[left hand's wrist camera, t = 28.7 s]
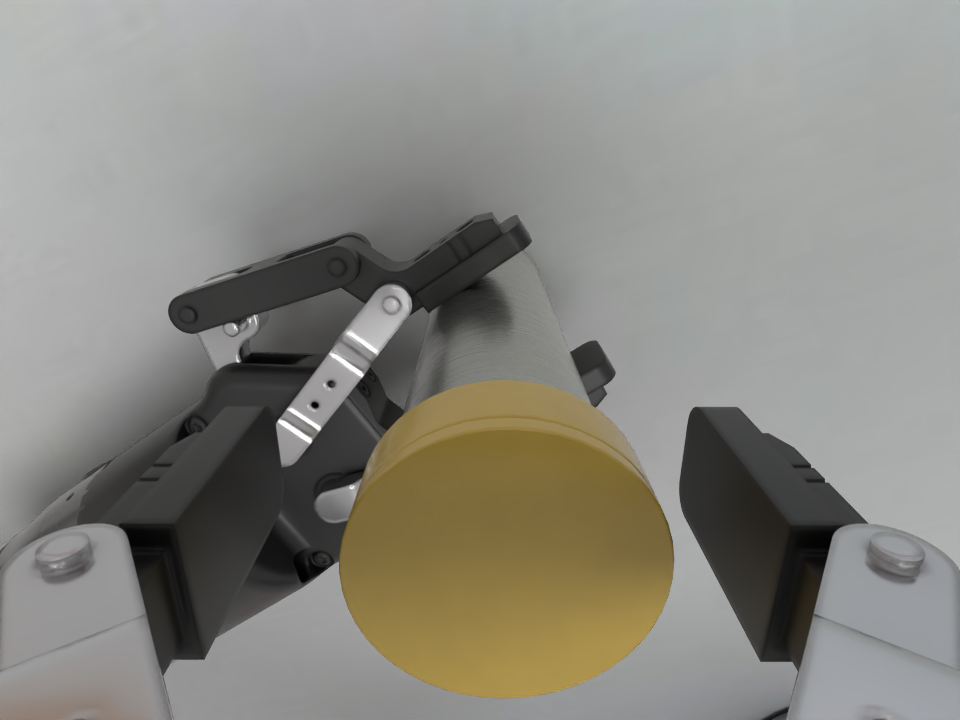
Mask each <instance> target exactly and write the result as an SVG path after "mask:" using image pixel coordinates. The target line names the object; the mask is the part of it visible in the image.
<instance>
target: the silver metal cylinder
mask: <svg viewBox="0 0 960 720" xmlns="http://www.w3.org/2000/svg"><path fill="white" fill-rule="evenodd" d="M494 380H515V381H528V382H533V383H538V384H543V385H548V386H551V387H554V388H557V389H560V390H563V391H566V392H568V393H570V394H572V395H574V396H576V397H578V398H580V399H582V400H584V401H586V402H587V403H589V404H590V405H591V403H590V400H589V398H588V395H587V393H586V390H585V388H584V385H583V383H582V380H581V378H580V375H579V373H578V370H577V368H576V365H575V363H574V360H573V358H572V355H571V353H570V350H569V348H568V345H567V343H566V340H565V338H564V335H563V333H562V330H561V328H560V325H559V323H558V320H557V318H556V315H555V313H554V310H553V308H552V305H551V303H550V300H549V298H548V295H547V293H546V290H545V288H544V285H543V283H542V280H541V278H540V275H539V273H538V271H537V268H536V266H535V264H534V263H533V261H532V260H531V259H530V257H529V256H528V255H527V254H526V253H525V252H524V251H523V250H522V251H521V252H519V253H518V254H517V255H515V256H513V257H512V258H510V259H509V260H507V261H506V262H504V263H503V264H501V265H500V266H498V267H497V268H495V269H494V270H492V271H491V272H489V273H488V274H486V275H485V276H483V277H482V278H480V279H479V280H477V281H476V282H474V283H473V284H471V285H470V286H468V287H467V288H465V289H464V290H462V291H461V292H459V293H457V294H456V295H454V296H452V297H451V298H450V299H448V300H447V301H446V302H444V303H443V304H441V305H440V306H438V307H437V308H435V309H434V310H432V311H431V313H430V317H429V321H428V324H427V328H426V332H425V336H424V339H423V343H422V347H421V350H420V354H419V358H418V361H417V365H416V369H415V372H414V376H413V380H412V383H411V387H410V391H409V395H408V398H407V402H406V406H405V409H404V413H403V415H404V414H406V413H407V412H408V411H409V410H411V409H412V408H413V407H415V406H417V405H418V404H420V403H422V402H423V401H425V400H427V399H428V398H430V397H432V396H435V395H437V394H439V393H442V392H444V391H446V390H449V389H452V388H456V387H459V386H462V385H466V384H471V383H477V382H483V381H494Z"/></svg>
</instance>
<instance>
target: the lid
mask: <svg viewBox="0 0 960 720" xmlns="http://www.w3.org/2000/svg"><path fill="white" fill-rule="evenodd" d="M673 569H674V551H673V541H672V537H671V533H670V529H669V525H668V522H667V520H666V518H665V515H664V513H663V511H662V508H661V506H660V504H659V502H658V500H657V498H656V496H655V494H654V491H653V489H652V487H651V485H650V483H649V481H648V479H647V477H646V475H645V473H644V470H643V468H642V466H641V464H640V462H639V460H638V458H637V456H636V454H635V452H634V450H633V448H632V447H631V445H630V443H629V442H628V440H627V439H626V437H625V436H624V434H623V433H622V432H621V431H620V430H619V429H618V427H617V426H616V425H615V424H614V423H613V422H612V421H611V420H610V419H609V418H607V417H606V416H605V415H604V414H603V413H602V412H601V411H599V410H598V409H596V408H595V407H593V406H592V405H590V404H589V403H587V402H586V401H584V400H582V399H580V398H578V397H576V396H574V395H572V394H570V393H568V392H566V391H563V390H560V389H557V388H554V387H551V386H548V385H543V384H538V383H533V382H528V381H515V380H494V381H483V382H477V383H471V384H466V385H462V386H459V387H456V388H452V389H449V390H446V391H444V392H442V393H439V394H437V395H435V396H432V397H430V398H428V399H427V400H425V401H423V402H422V403H420V404H418V405H417V406H415V407H413V408H412V409H411V410H409V411H408V412H407V413H406V414H404V415H403V416H402V417H401V418H399V419H398V420H397V421H396V422H395V423H394V424H393V425H392V426H391V427H390V428H389V430H388V431H387V432H386V433H385V434H384V435H383V437H382V438H381V440H380V441H379V442H378V444H377V445H376V447H375V449H374V450H373V452H372V454H371V456H370V458H369V460H368V462H367V465H366V468H365V471H364V474H363V477H362V480H361V483H360V486H359V489H358V492H357V495H356V498H355V501H354V504H353V507H352V509H351V512H350V515H349V518H348V521H347V524H346V527H345V530H344V533H343V536H342V542H341V548H340V554H339V574H340V580H341V586H342V591H343V594H344V597H345V600H346V603H347V606H348V609H349V611H350V613H351V615H352V617H353V619H354V621H355V623H356V625H357V626H358V627H359V629H360V630H361V632H362V633H363V634H364V636H365V637H366V639H367V640H368V641H369V642H370V643H371V644H372V645H373V646H374V647H375V648H376V649H377V651H378V652H379V653H381V654H382V655H383V656H384V657H385V658H387V659H388V660H389V661H390V662H391V663H393V664H394V665H396V666H397V667H399V668H400V669H402V670H403V671H405V672H406V673H408V674H410V675H412V676H414V677H416V678H418V679H420V680H422V681H424V682H426V683H428V684H431V685H434V686H436V687H439V688H442V689H445V690H448V691H452V692H456V693H460V694H465V695H471V696H477V697H486V698H523V697H531V696H538V695H544V694H548V693H552V692H557V691H561V690H564V689H567V688H570V687H573V686H575V685H578V684H581V683H583V682H585V681H587V680H589V679H592V678H594V677H596V676H598V675H599V674H601V673H603V672H604V671H606V670H608V669H609V668H611V667H613V666H614V665H615V664H617V663H618V662H619V661H621V660H622V659H623V658H625V657H626V656H627V655H628V654H629V653H630V652H631V651H632V650H633V649H635V648H636V647H637V646H638V645H639V644H640V643H641V642H642V640H643V639H644V638H645V637H646V635H647V634H648V633H649V632H650V630H651V629H652V628H653V626H654V624H655V623H656V621H657V619H658V618H659V616H660V614H661V613H662V610H663V608H664V605H665V603H666V600H667V598H668V595H669V591H670V587H671V583H672V579H673Z"/></svg>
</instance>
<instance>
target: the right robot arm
mask: <svg viewBox="0 0 960 720" xmlns="http://www.w3.org/2000/svg"><path fill="white" fill-rule="evenodd" d="M531 242H532V240H531V238H530V235H529V233H528V232H527V230H526V229H525V227H524V226H523V224H522V222H521V221H520V219H519V218H518V216H517V215H515V216H512V217H510V218H509V219H507V220H505V221H504V222H502V223H501V224H499V223H498V221H497V220H496V218H495V217H494V215H493V214H492V212H491V213H487V214H482V215H478V216H474V217H473V218H471V219H470V220H468V221H467V222H466V223H464V224H463V225H461V226H460V227H459V228H457V229H455V230H454V231H453V232H451V233H450V234H449V235H447V236H445V237H444V238H442V239H441V240H440V241H438V242H437V243H435V244H434V245H432V246H431V247H429V248H428V249H427V250H425V251H424V252H422V253H421V254H419V255H418V256H416V257H415V258H413V259H412V260H409V261H406V262H396V261H392V260H390V259H388V258H386V257H385V256H383V255H382V254H380V253H379V252H377V251H376V250H374V249H373V248H372V247H371V245H370V243H369V241H368V240H367V239H366V238H365V237H364V236H363V235H361V234H358V233H347V234H344V235H340V236H337V237H334V238H331V239H328V240H325V241H322V242H319V243H316V244H313V245H310V246H307V247H304V248H301V249H297V250H294V251H291V252H288V253H285V254H282V255H279V256H276V257H273V258H270V259H267V260H264V261H261V262H258V263H254V264H251V265H248V266H245V267H242V268H239V269H236V270H233V271H230V272H227V273H224V274H221V275H218V276H215V277H212V278H210V279H208V280H206V281H204V282H203V283H201V284H199V285H197V286H195V287H193V288H191V289H190V290H188V291H186V292H185V293H183V294H181V295H179V296H177V297H176V298H174V299H173V300H172V301H171V303H170V305H169V309H168V313H169V317H170V320H171V322H172V323H173V324H174V326H175V327H176V328H178V329H179V330H181V331H183V332H185V333H190V334H195V333H197V335H198V337H199V339H200V341H201V343H202V345H203V347H204V349H205V351H206V353H207V355H208V357H209V359H210V361H211V363H212V365H213V367H214V369H215V370H216V372H215V373H214V374H213V375H212V377H211V378H210V380H209V382H208V384H207V387H206V390H205V392H204V394H203V396H202V398H201V399H199V400H198V401H197V402H195V403H194V404H192V405H191V406H189V407H188V408H186V409H185V410H184V411H182V412H181V413H179V414H178V415H176V416H175V417H173V418H172V419H171V420H169V421H168V422H166V423H165V424H163V425H162V426H160V427H159V428H158V429H156V430H155V431H153V432H152V433H150V434H149V435H148V436H146V437H145V438H143V439H142V440H140V441H139V442H137V443H136V444H135V445H133V446H132V447H130V448H129V449H127V450H126V451H124V452H123V453H122V454H120V455H119V456H117V457H116V458H114V459H113V460H111V461H109V462H106V463H104V464H102V465H100V466H98V467H97V468H95V469H93V470H92V471H90V472H89V473H87V474H86V475H85V476H84V478H83V479H82V480H81V482H80V483H78V484H77V485H76V486H74V487H73V488H71V489H70V490H68V491H67V492H66V493H64V494H63V495H61V496H60V497H59V498H57V499H56V500H55V501H54V502H52V503H51V504H50V505H49V506H48V507H47V508H46V509H45V510H44V511H42V512H41V513H40V514H39V515H38V516H37V517H36V518H35V519H34V520H33V521H32V522H31V523H30V524H29V525H28V526H27V527H26V528H25V529H24V530H22V531H21V532H20V533H19V534H17V535H15V536H14V537H12V538H11V539H10V540H8V541H7V542H5V543H4V544H2V545H1V546H0V570H1V569H2V567H3V565H4V564H5V563H6V562H7V561H8V560H9V559H10V558H11V557H12V556H13V555H14V554H15V553H17V552H18V551H19V550H21V549H22V548H23V547H25V546H27V545H28V544H30V543H32V542H34V541H35V540H37V539H39V538H41V537H44V536H46V535H48V534H51V533H53V532H56V531H59V530H62V529H66V528H69V527H73V526H79V525H84V524H95V523H96V522H97V521H98V520H99V519H100V518H101V517H102V516H103V515H104V514H105V513H106V512H107V511H108V510H109V509H110V508H111V507H112V506H113V505H114V504H115V503H116V502H117V501H118V500H119V499H120V498H121V497H122V496H123V494H124V493H125V492H126V491H127V490H128V489H129V488H130V487H131V486H132V485H133V484H134V483H135V482H136V481H140V477H141V476H142V475H143V474H144V473H145V472H146V471H147V470H148V469H149V468H150V467H153V464H154V463H155V461H156V460H157V459H158V458H159V457H160V456H161V455H162V454H163V453H164V452H165V451H166V450H167V449H168V448H169V447H170V446H172V445H174V444H176V443H177V442H179V441H181V440H183V439H185V438H186V437H188V436H190V435H192V434H193V433H195V432H202V431H203V430H204V429H205V428H206V427H207V426H208V425H209V424H210V423H211V422H212V420H213V419H214V418H215V417H216V416H217V415H218V414H219V413H220V412H221V411H222V410H223V409H224V408H225V407H227V406H269V407H270V408H271V409H272V411H273V413H274V417H275V422H276V429H277V436H278V444H279V451H280V458H281V466H282V473H283V481H284V495H283V503H282V507H281V511H280V514H279V516H278V518H277V520H276V522H275V524H274V526H273V528H272V530H271V532H270V533H269V535H268V537H267V539H266V541H265V543H264V545H263V547H262V549H261V551H260V553H259V555H258V557H257V559H256V560H255V562H254V564H253V566H252V568H251V570H250V572H249V574H248V576H247V578H246V580H245V582H244V584H243V586H242V588H241V589H240V591H239V593H238V595H237V597H236V599H235V601H234V603H233V605H232V607H231V609H230V611H229V613H228V615H227V617H226V618H225V620H224V622H223V624H222V626H221V628H220V630H219V632H218V634H217V636H216V637H218V636H220V635H221V634H223V633H225V632H227V631H228V630H230V629H232V628H234V627H235V626H237V625H239V624H240V623H242V622H244V621H246V620H247V619H249V618H251V617H253V616H254V615H256V614H258V613H259V612H261V611H263V610H265V609H266V608H268V607H270V606H271V605H273V604H275V603H277V602H278V601H280V600H282V599H283V598H285V597H287V596H289V595H290V594H292V593H294V592H296V591H297V590H299V589H301V588H302V587H304V586H305V585H307V584H308V583H310V582H311V581H313V580H314V579H315V578H316V577H318V576H319V575H320V574H321V573H323V572H324V571H325V570H326V569H328V568H329V567H330V566H332V565H333V564H335V563H337V562H339V554H340V548H341V542H342V536H343V533H344V530H345V527H346V524H347V521H348V518H349V515H350V512H351V509H352V507H353V504H354V501H355V498H356V495H357V492H358V489H359V486H360V483H361V480H362V477H363V474H364V471H365V468H366V465H367V462H368V460H369V458H370V456H371V454H372V452H373V450H374V449H375V447H376V445H377V444H378V442H379V441H380V440H381V438H382V437H383V435H384V434H385V433H386V432H387V431H388V430H389V428H390V427H391V426H392V425H393V424H394V423H395V422H396V421H397V420H398V419H399V418H401V417H402V416H403V413H404V410H403V409H401V408H400V407H399V406H397V405H396V404H395V403H393V402H392V401H391V400H389V399H388V398H387V396H386V394H385V392H384V389H383V387H382V385H381V383H380V380H379V378H378V377H377V375H376V374H375V373H374V372H373V370H372V369H371V368H370V366H371V364H372V363H373V361H374V360H375V358H376V357H377V356H378V354H379V353H380V352H381V350H382V349H383V348H384V347H385V345H386V344H387V343H388V342H389V340H390V339H391V338H392V337H393V335H394V334H395V333H396V332H397V330H398V329H399V328H400V326H401V325H402V324H403V323H404V321H405V320H406V319H407V318H408V316H410V315H411V314H413V313H414V312H416V311H417V310H419V309H420V308H422V307H424V308H425V309H426V311H427V312H428V313H429V312H431V311H432V310H434V309H435V308H437V307H438V306H440V305H441V304H443V303H444V302H446V301H447V300H448V299H450V298H451V297H452V296H454V295H456V294H457V293H459V292H461V291H462V290H464V289H465V288H467V287H468V286H470V285H471V284H473V283H474V282H476V281H477V280H479V279H480V278H482V277H483V276H485V275H486V274H488V273H489V272H491V271H492V270H494V269H495V268H497V267H498V266H500V265H501V264H503V263H504V262H506V261H507V260H509V259H510V258H512V257H513V256H515V255H517V254H518V253H519V252H521V251H522V250H524V249H525V248H526V247H527V246H528V245H529V244H530V243H531ZM339 288H342V289H344V290H345V291H347V292H348V293H350V294H351V295H353V296H354V297H356V298H357V299H359V300H360V301H362V302H363V303H364V305H363V306H362V307H361V309H360V310H359V311H358V312H357V314H356V315H355V316H354V317H353V319H352V320H351V321H350V323H349V324H348V325H347V327H346V328H345V329H344V331H343V332H342V333H341V335H340V336H339V337H338V339H337V340H336V341H335V343H334V344H333V345H332V346H331V348H330V349H329V350H328V352H327V353H326V354H304V353H272V352H250V348H249V341H250V338H252V337H254V336H255V335H256V334H257V333H258V332H259V331H260V330H261V329H262V328H263V327H264V326H265V325H266V324H267V322H268V317H269V315H268V311H269V310H272V309H275V308H278V307H281V306H285V305H288V304H291V303H294V302H297V301H300V300H304V299H307V298H310V297H313V296H316V295H320V294H323V293H326V292H329V291H332V290H335V289H339ZM570 353H571V355H572V358H573V360H574V363H575V365H576V368H577V370H578V373H579V375H580V378H581V380H582V383H583V385H584V388H585V390H586V393H587V395H588V398H589V400H590V403H591V405H592V406H593V407H597V406H598V404H599V403H600V402H601V401H602V400H603V398H604V397H605V396H606V395H607V393H606V391H605V388H604V386H605V385H606V384H608V383H609V382H610V381H611V380H612V379H613V378H614V376H615V373H616V372H615V370H614V368H613V366H612V365H611V363H610V361H609V359H608V357H607V356H606V354H605V353H604V351H603V350H602V348H601V346H600V345H599V343H598V342H597V341H590V342H587V343H585V344H583V345H581V346H580V347H578V348H576V349H575V350H573V351H571V352H570ZM175 661H177V660H172V661H171V663H173V662H175ZM171 663H170V664H171ZM787 714H788V712H787V713H784V714H782V715H780V716H778V717H775V718H773V719H772V720H786V718H787Z"/></svg>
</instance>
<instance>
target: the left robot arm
mask: <svg viewBox="0 0 960 720" xmlns="http://www.w3.org/2000/svg"><path fill="white" fill-rule="evenodd" d="M679 494H680V503H681V508H682V511H683V514H684V517H685V519H686V521H687V522H688V524H689V526H690V528H691V530H692V532H693V534H694V536H695V538H696V540H697V541H698V543H699V545H700V547H701V549H702V551H703V553H704V555H705V557H706V559H707V561H708V562H709V564H710V566H711V568H712V570H713V572H714V574H715V576H716V578H717V580H718V582H719V583H720V585H721V587H722V589H723V591H724V593H725V595H726V597H727V599H728V601H729V602H730V604H731V606H732V608H733V610H734V612H735V614H736V616H737V618H738V620H739V622H740V623H741V625H742V627H743V629H744V631H745V633H746V635H747V637H748V639H749V641H750V643H751V644H752V646H753V648H754V650H755V652H756V654H757V656H758V658H759V660H760V662H793V663H794V665H795V667H796V668H797V670H798V674H797V678H796V682H795V686H794V690H793V694H792V698H791V702H790V706H789V710H788V714H787V718H786V720H960V570H959V569H958V567H957V565H956V564H955V563H954V562H953V561H952V560H951V559H950V558H949V557H948V556H947V555H946V554H945V553H943V552H942V551H941V550H939V549H938V548H937V547H935V546H933V545H932V544H930V543H928V542H926V541H925V540H923V539H921V538H919V537H916V536H914V535H912V534H909V533H907V532H904V531H901V530H898V529H894V528H891V527H887V526H881V525H876V524H868V523H867V522H866V521H865V520H864V519H863V518H862V517H861V515H860V514H859V513H858V512H857V511H856V510H855V509H854V508H853V507H852V506H851V505H850V504H849V503H848V502H847V501H846V500H845V499H844V498H843V497H842V496H841V495H840V494H839V493H838V492H837V491H836V490H835V489H834V488H833V487H832V486H831V485H830V484H829V483H825V479H824V478H823V477H822V476H821V475H820V474H819V473H818V472H817V471H816V470H815V468H811V464H810V463H809V462H808V461H807V460H806V459H805V458H804V457H803V456H802V455H801V454H800V453H799V452H798V451H797V450H796V449H795V448H794V447H792V446H790V445H788V444H787V443H785V442H783V441H781V440H779V439H778V438H776V437H774V436H772V435H770V434H769V433H762V432H761V431H760V430H759V429H758V428H757V427H756V426H755V425H754V424H753V423H752V422H751V421H750V419H749V418H748V417H747V416H746V415H745V414H744V413H743V412H742V411H741V410H740V409H739V408H737V407H694V408H693V409H692V411H691V412H690V415H689V419H688V425H687V432H686V439H685V446H684V454H683V461H682V468H681V475H680V483H679ZM283 495H284V481H283V473H282V466H281V458H280V451H279V444H278V436H277V429H276V422H275V417H274V413H273V411H272V409H271V408H270V407H269V406H227V407H225V408H224V409H223V410H222V411H221V412H220V413H219V414H218V415H217V416H216V417H215V418H214V419H213V420H212V422H211V423H210V424H209V425H208V426H207V427H206V428H205V429H204V430H203V431H202V432H195V433H193V434H192V435H190V436H188V437H186V438H185V439H183V440H181V441H179V442H177V443H176V444H174V445H172V446H170V447H169V448H168V449H167V450H166V451H165V452H164V453H163V454H162V455H161V456H160V457H159V458H158V459H157V460H156V461H155V463H154V464H153V467H150V468H149V469H148V470H147V471H146V472H145V473H144V474H143V475H142V476H141V477H140V481H136V482H135V483H134V484H133V485H132V486H131V487H130V488H129V489H128V490H127V491H126V492H125V493H124V494H123V496H122V497H121V498H120V499H119V500H118V501H117V502H116V503H115V504H114V505H113V506H112V507H111V508H110V509H109V510H108V511H107V512H106V513H105V514H104V515H103V516H102V517H101V518H100V519H99V520H98V521H97V522H96V523H95V524H84V525H79V526H73V527H69V528H66V529H62V530H59V531H56V532H53V533H51V534H48V535H46V536H44V537H41V538H39V539H37V540H35V541H34V542H32V543H30V544H28V545H27V546H25V547H23V548H22V549H21V550H19V551H18V552H17V553H15V554H14V555H13V556H12V557H11V558H10V559H9V560H8V561H7V562H6V563H5V564H4V565H3V567H2V569H1V570H0V720H174V718H173V714H172V710H171V706H170V702H169V698H168V694H167V690H166V686H165V682H164V678H163V675H164V674H165V672H166V670H167V668H168V667H169V665H170V663H171V661H172V660H204V659H205V657H206V655H207V653H208V651H209V649H210V647H211V645H212V644H213V642H214V640H215V638H216V636H217V634H218V632H219V630H220V628H221V626H222V624H223V622H224V620H225V618H226V617H227V615H228V613H229V611H230V609H231V607H232V605H233V603H234V601H235V599H236V597H237V595H238V593H239V591H240V589H241V588H242V586H243V584H244V582H245V580H246V578H247V576H248V574H249V572H250V570H251V568H252V566H253V564H254V562H255V560H256V559H257V557H258V555H259V553H260V551H261V549H262V547H263V545H264V543H265V541H266V539H267V537H268V535H269V533H270V532H271V530H272V528H273V526H274V524H275V522H276V520H277V518H278V516H279V514H280V511H281V507H282V503H283Z"/></svg>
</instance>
